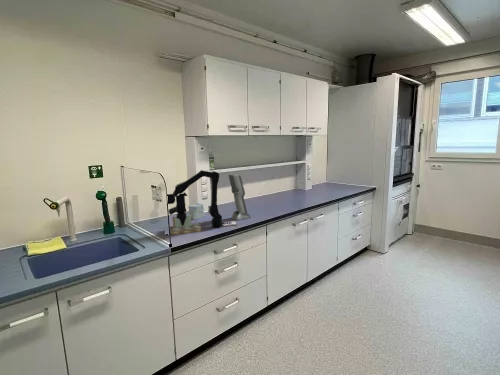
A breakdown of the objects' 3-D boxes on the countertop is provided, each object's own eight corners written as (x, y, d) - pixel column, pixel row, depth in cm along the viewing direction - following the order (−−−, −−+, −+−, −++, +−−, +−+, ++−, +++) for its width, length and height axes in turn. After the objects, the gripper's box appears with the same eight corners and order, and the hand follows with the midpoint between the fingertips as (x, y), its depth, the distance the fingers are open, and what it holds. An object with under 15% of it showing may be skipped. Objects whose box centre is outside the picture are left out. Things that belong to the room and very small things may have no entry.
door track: (200, 227, 192) (200, 222, 191) (201, 231, 183) (200, 226, 182) (165, 231, 186) (165, 226, 186) (164, 235, 178) (164, 230, 177)
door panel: (191, 227, 187) (190, 215, 185) (191, 228, 185) (190, 216, 183) (173, 229, 184) (172, 217, 183) (173, 230, 182) (172, 217, 181)
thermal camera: (229, 217, 214) (227, 174, 208) (242, 214, 221) (240, 172, 215) (237, 220, 204) (234, 175, 199) (251, 217, 211) (249, 173, 206)
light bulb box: (199, 215, 225) (198, 203, 223) (204, 216, 221) (203, 203, 219) (188, 218, 217) (187, 205, 215) (194, 219, 212) (193, 206, 211)
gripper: (169, 201, 189) (171, 222, 191) (167, 206, 171) (169, 230, 173) (185, 199, 191) (187, 220, 194) (185, 205, 173) (187, 228, 176)
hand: (182, 224), depth 184 cm, fingers open, 4 cm apart
